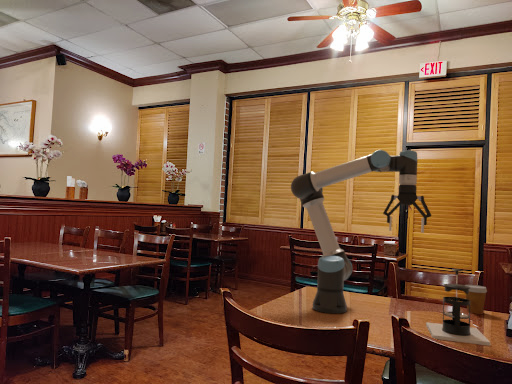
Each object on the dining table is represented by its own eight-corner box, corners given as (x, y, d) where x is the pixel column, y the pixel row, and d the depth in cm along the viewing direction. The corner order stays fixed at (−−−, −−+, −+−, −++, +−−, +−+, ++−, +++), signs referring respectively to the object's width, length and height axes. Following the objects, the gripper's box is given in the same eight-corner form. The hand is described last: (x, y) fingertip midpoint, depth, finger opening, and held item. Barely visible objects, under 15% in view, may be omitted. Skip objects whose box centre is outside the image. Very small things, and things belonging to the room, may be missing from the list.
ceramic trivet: (433, 338, 137) (433, 335, 137) (426, 325, 154) (426, 322, 154) (490, 345, 132) (490, 342, 132) (476, 331, 149) (476, 328, 149)
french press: (472, 338, 135) (473, 272, 137) (442, 333, 139) (443, 269, 140) (468, 329, 146) (469, 268, 148) (441, 325, 150) (442, 266, 151)
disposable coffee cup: (491, 314, 178) (492, 288, 178) (475, 315, 175) (475, 288, 176) (474, 309, 187) (475, 284, 188) (458, 309, 184) (459, 284, 185)
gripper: (379, 183, 175) (377, 230, 173) (439, 184, 168) (437, 233, 166) (378, 184, 182) (377, 229, 181) (436, 186, 175) (434, 233, 174)
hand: (406, 231), depth 173 cm, fingers open, 13 cm apart
